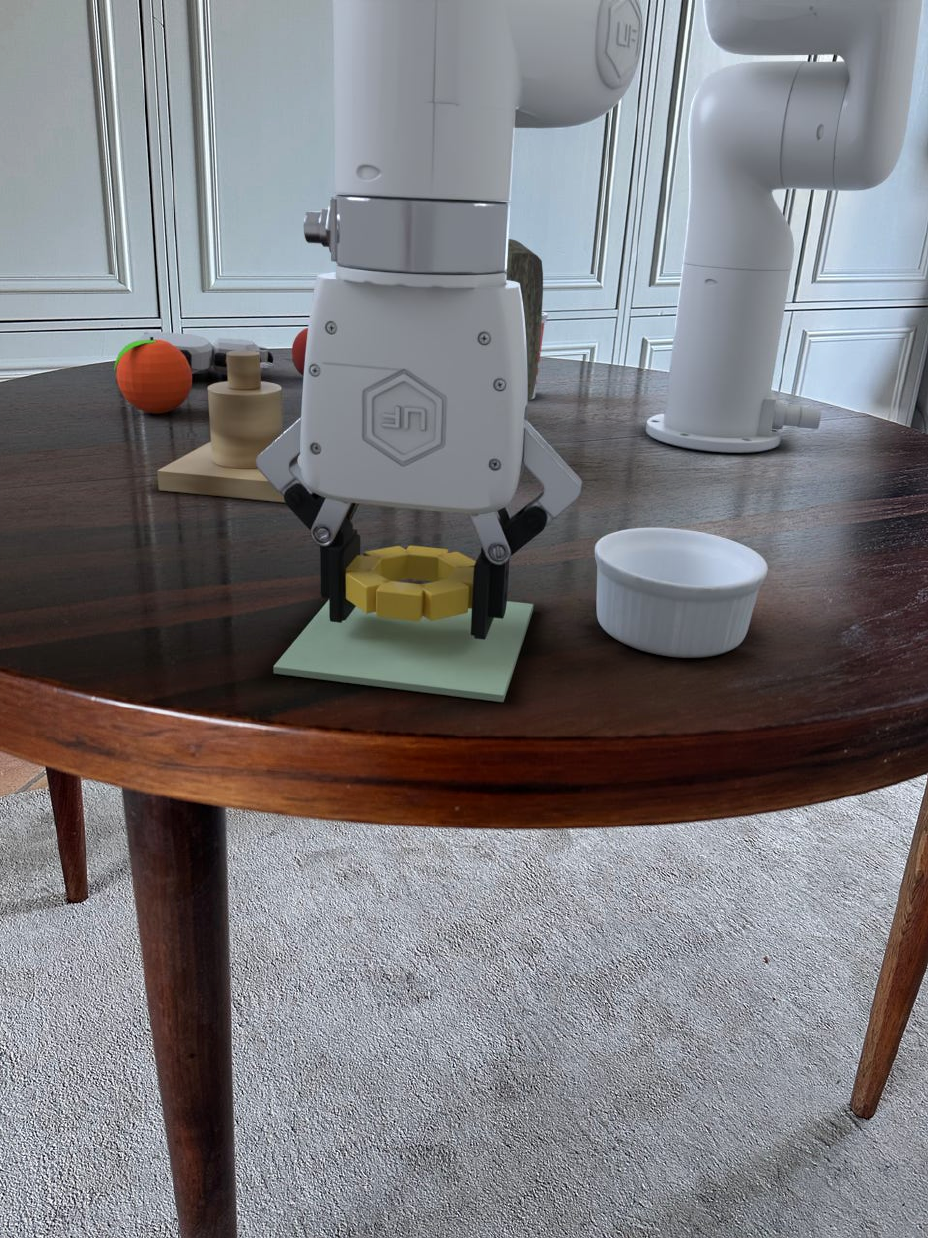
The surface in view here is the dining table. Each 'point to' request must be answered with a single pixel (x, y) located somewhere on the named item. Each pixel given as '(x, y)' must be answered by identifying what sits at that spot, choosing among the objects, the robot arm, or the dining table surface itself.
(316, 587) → the dining table surface
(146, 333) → the robot toy
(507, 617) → the mat
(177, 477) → the stand
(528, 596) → the dining table surface
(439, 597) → the ring
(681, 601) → the ramekin
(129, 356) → the clementine
